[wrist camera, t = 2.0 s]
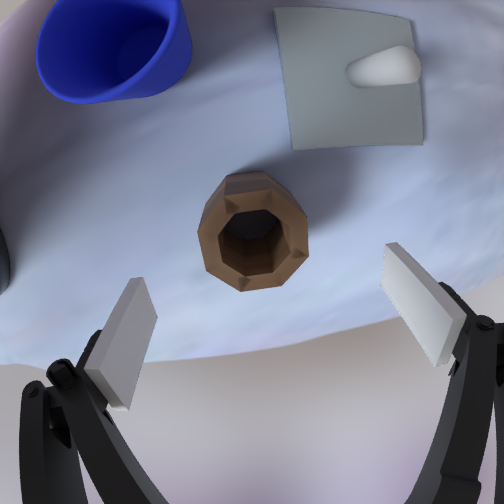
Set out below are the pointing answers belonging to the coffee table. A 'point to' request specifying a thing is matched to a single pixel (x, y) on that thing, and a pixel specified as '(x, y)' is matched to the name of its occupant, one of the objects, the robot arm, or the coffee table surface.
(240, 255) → the ring
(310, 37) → the square plate with peg
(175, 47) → the mug
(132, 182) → the coffee table surface
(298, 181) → the coffee table surface
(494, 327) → the robot arm
